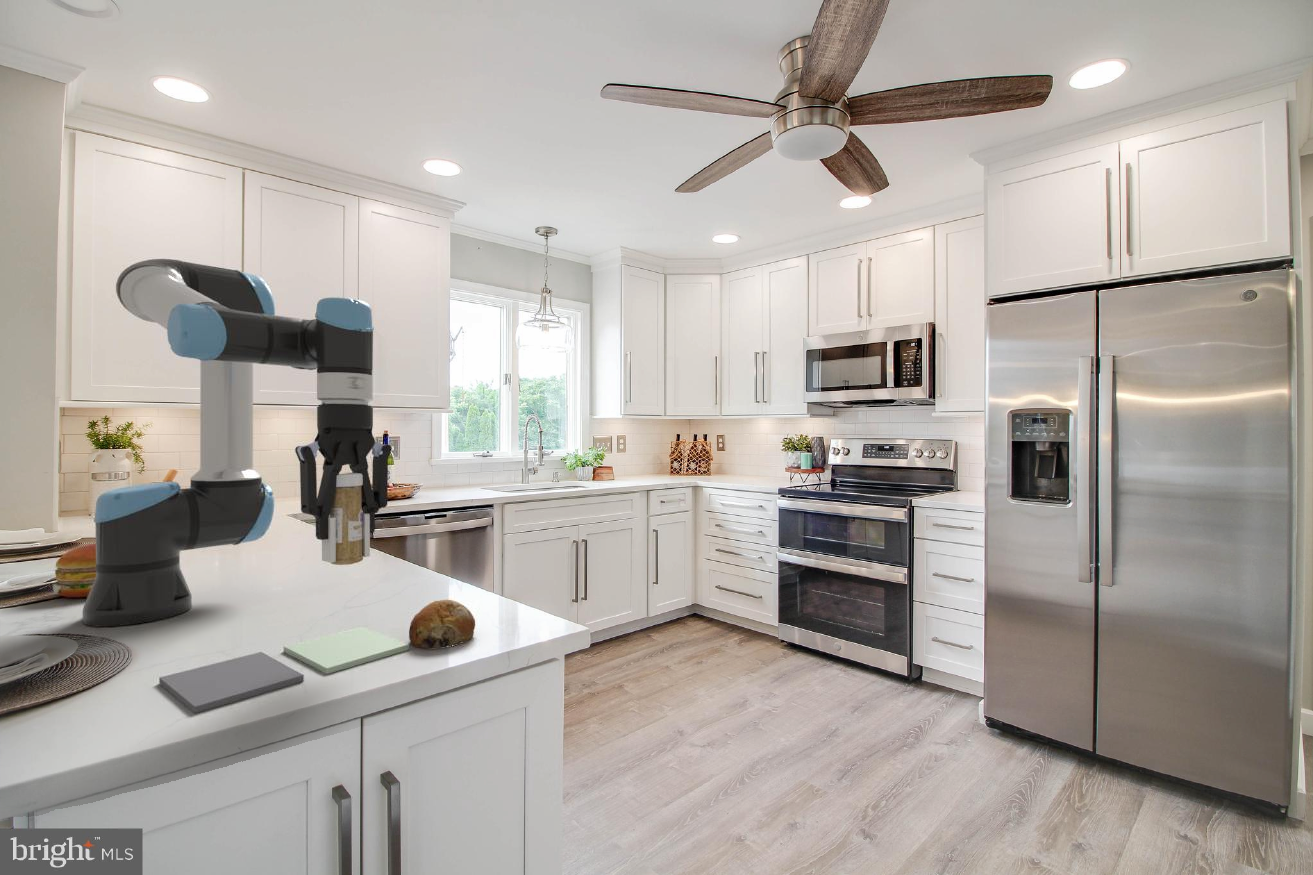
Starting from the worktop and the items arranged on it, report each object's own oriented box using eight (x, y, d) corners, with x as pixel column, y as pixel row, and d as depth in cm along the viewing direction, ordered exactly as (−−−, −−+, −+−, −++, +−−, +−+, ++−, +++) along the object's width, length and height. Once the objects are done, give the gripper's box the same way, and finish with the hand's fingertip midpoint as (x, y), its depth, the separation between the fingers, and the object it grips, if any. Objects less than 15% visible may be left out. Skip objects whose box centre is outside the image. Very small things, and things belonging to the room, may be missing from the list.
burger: (66, 605, 118) (66, 552, 118) (41, 595, 125) (40, 546, 125) (152, 589, 130) (151, 542, 130) (124, 581, 137) (124, 536, 137)
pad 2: (283, 651, 93) (283, 646, 93) (362, 631, 103) (362, 626, 103) (327, 673, 85) (326, 668, 85) (408, 649, 94) (408, 644, 94)
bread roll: (480, 658, 101) (492, 608, 104) (443, 650, 92) (458, 596, 95) (430, 651, 104) (443, 603, 107) (389, 643, 95) (405, 590, 98)
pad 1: (159, 683, 82) (159, 677, 82) (261, 657, 91) (261, 651, 91) (195, 713, 73) (195, 706, 73) (303, 680, 82) (303, 674, 82)
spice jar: (365, 563, 93) (364, 473, 93) (331, 566, 91) (330, 474, 90) (360, 558, 97) (360, 471, 97) (327, 561, 94) (327, 472, 94)
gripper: (293, 400, 84) (294, 572, 84) (412, 404, 98) (413, 552, 98) (271, 401, 89) (272, 564, 89) (387, 405, 103) (388, 546, 103)
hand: (346, 557), depth 94 cm, fingers closed on spice jar, 4 cm apart
